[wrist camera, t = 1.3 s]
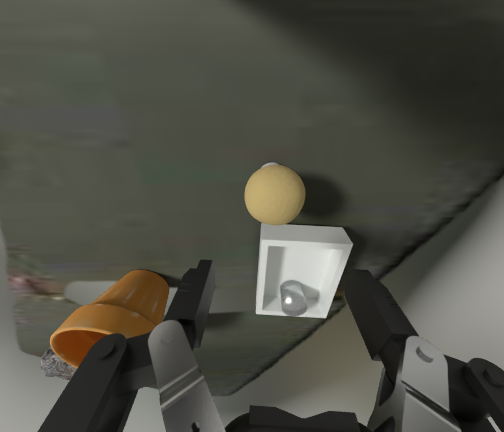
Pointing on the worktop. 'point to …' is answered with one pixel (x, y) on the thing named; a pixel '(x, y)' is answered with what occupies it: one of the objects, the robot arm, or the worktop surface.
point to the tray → (300, 265)
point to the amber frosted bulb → (274, 194)
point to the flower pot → (113, 315)
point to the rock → (56, 366)
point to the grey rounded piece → (293, 298)
